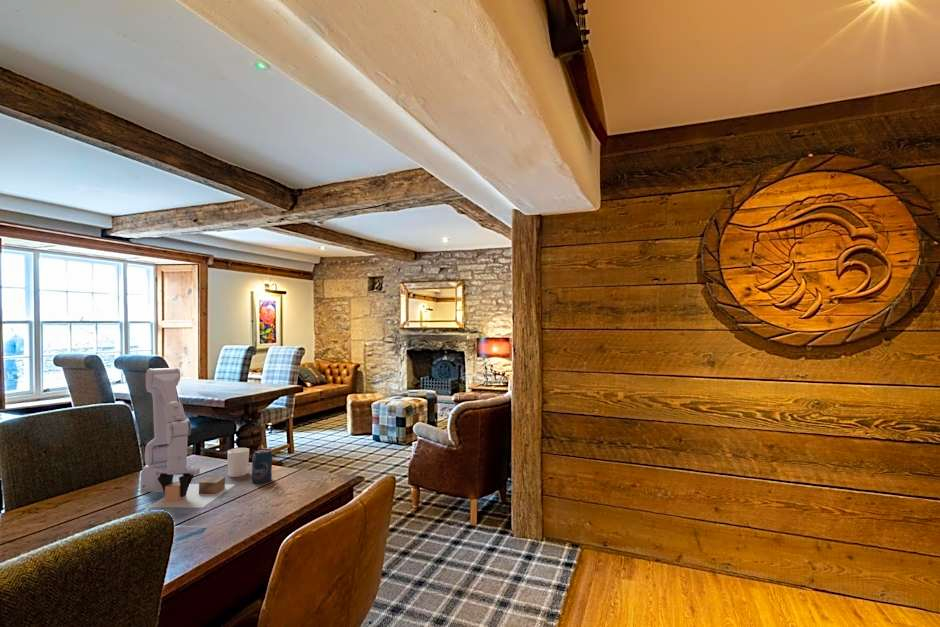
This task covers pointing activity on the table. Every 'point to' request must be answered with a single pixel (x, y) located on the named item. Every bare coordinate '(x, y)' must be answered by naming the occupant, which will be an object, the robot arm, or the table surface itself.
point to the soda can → (262, 466)
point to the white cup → (237, 461)
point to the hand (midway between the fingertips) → (175, 495)
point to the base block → (211, 485)
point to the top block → (173, 492)
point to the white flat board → (192, 498)
